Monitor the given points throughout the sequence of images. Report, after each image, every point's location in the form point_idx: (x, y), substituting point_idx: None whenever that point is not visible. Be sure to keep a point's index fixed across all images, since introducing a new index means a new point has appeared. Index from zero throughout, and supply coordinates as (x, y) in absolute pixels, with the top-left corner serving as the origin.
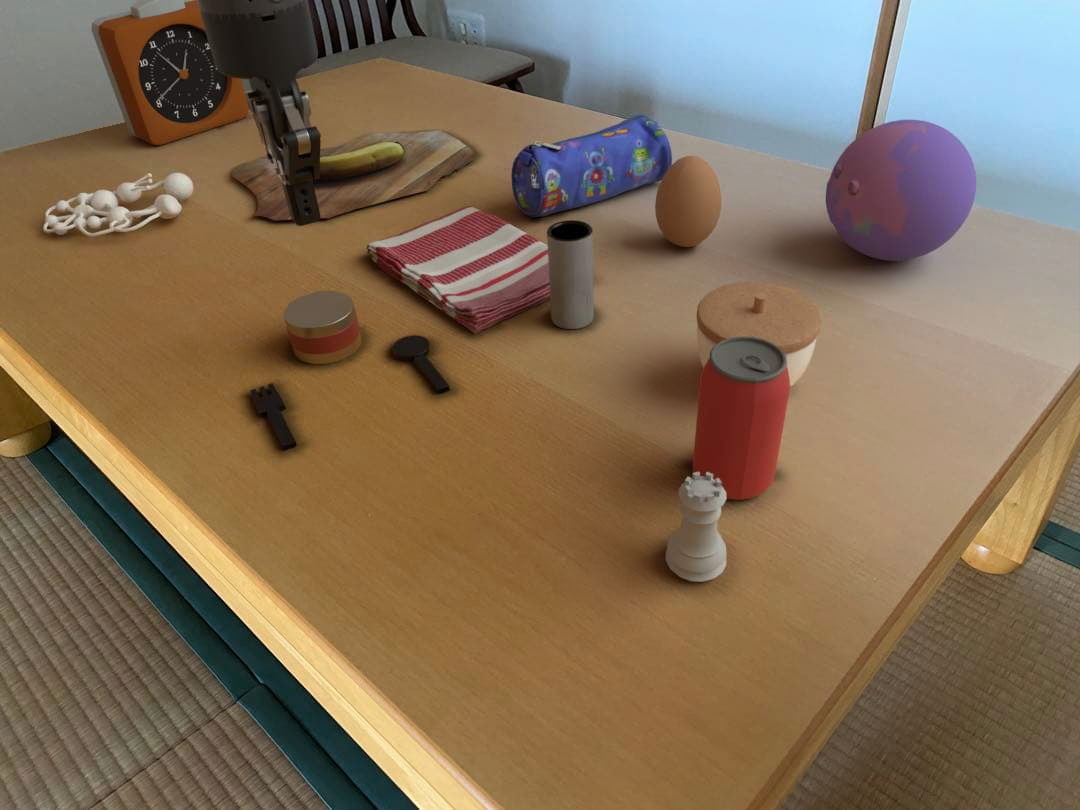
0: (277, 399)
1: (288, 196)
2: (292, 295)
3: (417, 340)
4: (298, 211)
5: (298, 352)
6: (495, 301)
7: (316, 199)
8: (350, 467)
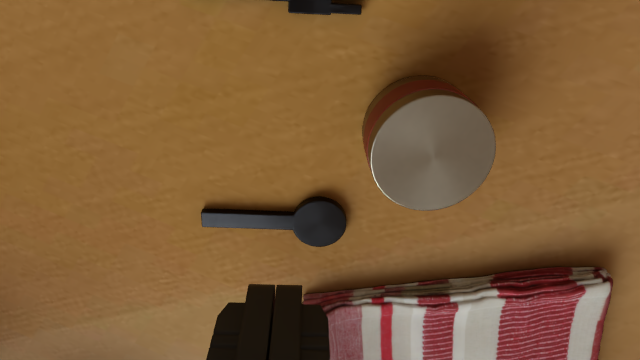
0: (309, 6)
1: (237, 356)
2: (602, 131)
3: (325, 235)
4: (222, 327)
5: (406, 82)
6: None
7: None
8: (101, 48)
